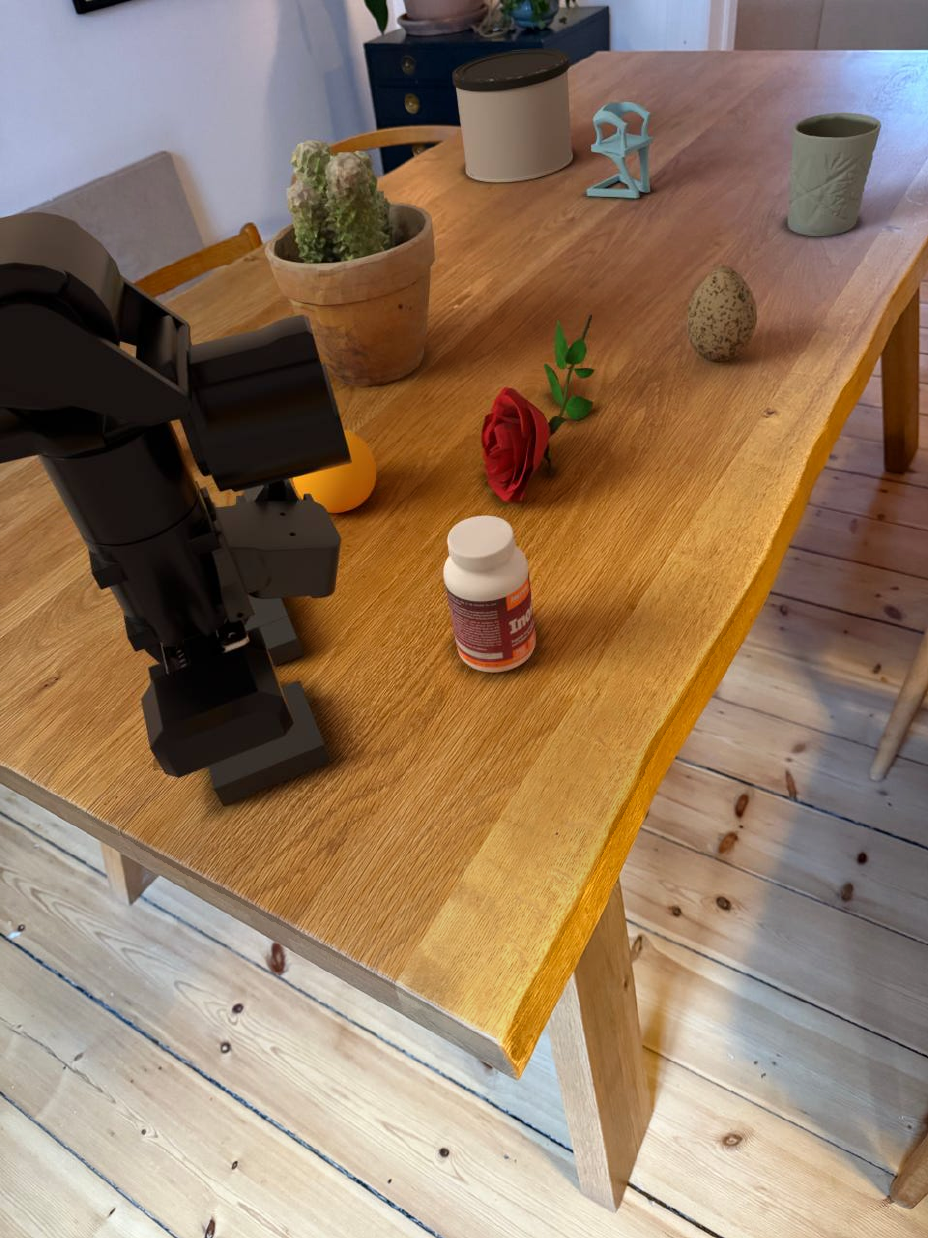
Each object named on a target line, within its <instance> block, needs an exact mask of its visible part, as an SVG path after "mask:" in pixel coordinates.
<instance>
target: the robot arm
mask: <svg viewBox="0 0 928 1238" xmlns="http://www.w3.org/2000/svg"><path fill="white" fill-rule="evenodd" d="M121 343H124V344H126V345H130V346H133V347H136V348H135V355H134V356H133V355H132V354H130V353H128V352H127V351H126V350H124V349H122V348H121ZM178 420H179V422H180V424H181V427H182V429H183V432H184V435H185V438H186V442H187V444H188V447H189V450H190V453H191V456H192V458H193V460H194V462H195V464H196V467H197V469H198V471H199V472H200V474H201V475H202V476H203V477H204V478H205V477H209V476H211V477H212V480H213V482H214V484H215V486H216V487H217V489H218V491H219V492H220V493H222V492H225V491H229V490H231V491H232V492H233V493H238V492H242V494H241V495H236V496H235V504H234V505H224V506H216V505H215V503H214V502H213V500H212V499H211V495H210V493H209V491H208V488H207V486H203V487H201V488H200V483H199V482H198V480H196V479H195V477H194V474H193V472H192V469H191V467H190V465H189V462H188V459H187V457H186V455H185V452H184V450H183V447H182V445H181V443H180V440H179V437H178V435H177V433H176V431H175V428H174V426H173V423H172V422H174V421H178ZM344 430H345V429H344V425H343V423H342V418H341V415H340V411H339V408H338V403H337V400H336V396H335V393H334V389H333V386H332V382H331V378H330V375H329V370H328V367H327V365H326V363H325V362H321V357H320V353H319V351H318V350H317V347H316V343H315V339H314V335H313V332H312V328H311V324H310V321H309V318H308V317H307V316H305V315H303V314H302V315H298V316H296V315H293V316H290V317H284V318H282V319H277V320H276V321H273V322H272V323H269V324H267V325H266V326H264V327H261V328H258V329H253V330H250V331H246V332H241V333H237V334H234V335H229V336H225V337H220V338H216V339H212V340H208V341H204V342H200V343H195V344H193V343H192V338H191V325H190V323H189V321H186V320H185V319H184V318H182V317H181V316H180V315H178V314H177V313H176V312H174V311H173V310H171V309H170V308H168V307H167V306H165V305H164V304H163V303H162V302H160V301H158V300H157V299H156V298H154V297H153V296H151V295H150V294H149V293H147V292H146V291H145V290H143V289H141V287H139V286H137V285H136V284H134V283H133V282H131V280H129V279H127V277H125V276H124V275H122V274H121V272H120V270H119V266H118V264H117V262H116V261H115V259H114V258H113V257H112V255H111V254H110V253H109V251H108V250H107V249H106V247H105V246H104V244H103V243H102V242H101V241H100V240H98V239H97V238H96V237H94V236H93V234H91V233H90V232H89V231H87V230H86V229H84V228H83V227H82V226H80V224H79V223H78V222H77V221H75V220H73V219H70V218H68V217H65V216H63V215H60V214H55V213H48V212H41V211H30V212H24V213H16V214H12V215H7V216H2V217H0V465H2V464H6V463H10V462H14V461H19V460H22V459H26V458H31V457H35V456H36V457H38V459H39V461H40V462H41V464H42V466H43V468H44V470H45V472H46V473H47V475H48V477H49V479H50V481H51V482H52V484H53V486H54V488H55V490H56V492H57V494H58V495H59V497H60V499H61V501H62V503H63V504H64V506H65V508H66V510H67V512H68V513H69V515H70V518H71V519H72V521H73V523H74V525H75V527H76V528H77V530H78V532H79V534H80V537H81V538H82V540H83V541H84V544H85V545H86V547H87V550H88V557H89V563H90V564H89V565H90V569H91V570H90V571H91V575H92V576H93V579H94V580H95V582H96V584H97V585H98V587H99V589H100V590H101V591H102V590H105V589H107V588H108V589H110V591H111V593H112V594H113V597H114V598H115V600H116V602H117V604H118V606H119V607H120V609H121V611H122V615H123V620H124V627H125V632H126V637H127V639H128V641H129V643H130V645H131V647H132V649H133V650H134V652H135V653H137V652H140V651H145V652H146V654H148V655H149V656H150V657H152V659H153V660H155V661H156V662H157V664H153V665H151V666H148V668H147V671H148V675H149V679H150V683H149V685H148V686H147V689H146V690H145V692H144V694H143V695H142V697H141V698H140V702H141V706H142V707H141V708H142V712H143V718H144V722H145V729H146V733H147V740H148V745H149V750H150V751H151V753H152V755H153V757H154V758H155V760H156V762H157V763H158V765H159V766H160V768H161V770H162V771H163V773H164V774H165V775H166V776H167V775H168V776H170V777H174V778H177V779H180V778H183V777H185V776H188V775H191V774H193V773H196V772H198V771H200V770H203V769H205V768H208V766H211V765H213V764H216V763H218V762H221V761H223V760H226V759H228V758H231V757H233V756H236V755H238V754H241V753H243V752H246V751H248V750H251V749H253V748H256V747H259V746H261V745H264V744H266V743H269V742H271V741H274V740H276V739H279V738H281V737H284V736H286V734H287V733H288V731H289V730H290V728H291V727H292V725H293V724H294V722H293V719H292V716H291V713H290V710H289V708H288V705H287V702H286V699H285V696H284V694H283V691H282V688H281V687H282V686H281V684H280V683H281V682H280V680H279V678H278V675H277V672H276V670H275V668H274V667H275V666H274V665H273V662H272V660H271V657H270V655H269V652H268V650H267V647H266V645H265V644H264V642H263V639H262V636H261V634H260V631H259V628H258V627H256V628H253V629H251V630H248V631H246V629H245V625H246V623H247V621H248V620H249V618H250V616H253V615H255V613H254V610H253V607H252V605H251V602H250V600H249V597H248V595H250V596H252V597H254V598H258V599H275V598H282V599H285V598H286V599H287V598H300V597H311V598H312V599H316V600H317V599H324V598H327V597H330V596H332V595H333V594H335V592H336V586H337V577H338V571H339V564H340V555H341V546H342V536H341V534H340V533H339V531H338V529H337V527H336V525H335V524H334V521H333V520H332V518H331V515H330V513H328V512H327V510H326V509H325V507H324V506H323V505H321V504H320V503H317V502H315V501H314V500H313V498H312V496H311V494H304V495H303V499H300V498H299V496H298V495H297V493H296V490H295V489H294V487H293V485H292V483H291V481H290V479H293V478H294V477H298V476H302V475H306V474H310V473H314V472H318V471H322V470H326V469H330V468H334V467H338V466H342V465H346V464H350V463H352V460H351V456H350V452H349V448H348V444H347V441H346V437H345V433H344ZM247 594H248V595H247Z"/></svg>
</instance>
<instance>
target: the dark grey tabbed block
mask: <svg viewBox="0 0 928 1238" xmlns="http://www.w3.org/2000/svg"><path fill="white" fill-rule="evenodd" d="M281 688H282V691H283V694H284V696H285V699H286V702H287V705H288V708H289V710H290V713H291V716H292V719H293V722H294V724H293V725H292V727H291V728H290V730H289V731H288V733H287V734H286V736H284V737H281V738H279V739H276V740H274V741H271V742H269V743H266V744H264V745H261V746H259V747H256V748H253V749H251V750H248V751H246V752H243V753H241V754H238V755H236V756H233V757H231V758H228V759H226V760H223V761H221V762H218V763H216V764H213V765H211V766H208V767H207V768H208V773H209V777H210V780H211V785H212V789H213V791H214V792H215V794H216V796H217V798H218V800H219V802H220V803H221V805H222V806H226V805H229V804H231V803H233V802H235V801H238V800H241V799H244V798H246V797H248V796H250V795H253V794H254V793H258V792H260V791H262V790H265V789H268V788H270V787H273V786H275V785H277V784H279V783H282V782H285V781H287V780H289V779H292V778H294V777H296V776H299V775H302V774H304V773H307V772H310V771H312V770H314V769H317V768H319V767H321V766H324V765H326V764H328V763H331V762H332V759H331V756H330V754H329V751H328V749H327V746H326V744H325V741H324V738H323V736H322V733H321V730H320V728H319V726H318V724H317V721H316V717H315V715H314V713H313V710H312V708H311V705H310V703H309V700H308V697H307V694H306V692H305V689H304V687H303V684H302V682H301V680H300V679H298V680H296V681H294V682H290V683H287V684H286V685H283V686H281Z"/></svg>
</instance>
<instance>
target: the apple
mask: <svg viewBox="0 0 928 1238" xmlns="http://www.w3.org/2000/svg"><path fill="white" fill-rule="evenodd" d="M344 433H345V437H346V441H347V444H348V448H349V452H350V456H351V460H352V463H350V464H346V465H342V466H338V467H334V468H330V469H326V470H322V471H318V472H314V473H310V474H306V475H302V476H298V477H294V478H292V481H293V485H294V487H295V491H296V492H297V494H298V496H299V497H300V498H301V500H303V495H304V494H311V496H312V498H313V500H314V501H315V502H317V503H320V504H321V505H323V506H324V507H325V509H326V510H327V512H328V514H338V513H345V512H347V511H350V510H354V509H356V508H357V507H359V506H361V505H362V504H363V503H364V502H365V501H366V500H368V498H369V497H370V496H371V494H372V492H373V491H374V489H375V486H376V483H377V462H376V460H375V459H376V458H375V456H374V454H373V452H372V449H371V448H370V447H369V445H368V443H366V441H365V440H364V439H362V438H361V437H360V436H359V435H357V434H355V433H354V432H352V431H350V430H348V429H344Z"/></svg>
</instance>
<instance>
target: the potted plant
mask: <svg viewBox="0 0 928 1238" xmlns="http://www.w3.org/2000/svg"><path fill="white" fill-rule="evenodd" d="M290 157H291V160H290V165H291V166H294V168H293V174H294V175H295V178H296V180H295V182H294V183H293V184H292V185H291V186H290V187H285V188H286V199H287V202H288V204H287V206H286V209H287V210H288V211H289V213H290V216H291V217H292V222H291V223H288V224H287V225H285V226H283V228H281V229H280V230H278V232H277V233H276V235H275V236H274V237H272V238H271V239H270V240H269V241H268V242H267V244H266V246H265V247H264V254H265V257H266V258H267V261H268V262H269V264H270V268H271V272H272V274H273V276H274V277H275V281H276V284H277V287H278V288H279V291H280V292H281V293H282V294H283V295H284V296H285V297H286V298H287V299H288V300H289V303H290V304H291V306H292V309H293V311H294V314H295V316H298V315H302V314H303V315H305V316H307V317H308V318H309V321H310V324H311V328H312V332H313V335H314V339H315V343H316V347H317V350H318V354H319V356H321V358H322V359H323V361H324V363H325V364H326V367H327V369H328V371H329V372H330V374H331V375H332V376H333V377H334V379H335V380H337V381H338V382H341V383H342V384H344V385H345V384H346V385H349V386H352V387H353V386H354V387H359V388H367V387H368V388H369V387H376V386H382V385H385V384H390V383H394V382H396V381H398V380H400V379H403V378H405V377H407V376H408V375H410V374H411V373H413V371H414V370H416V369H417V368H418V367H419V366H420V364H421V362H422V360H423V357H424V355H425V348H426V347H425V346H426V340H427V332H428V320H429V309H430V307H429V306H430V293H431V292H430V290H431V272H432V271H431V270H432V269H431V268H432V266H433V264H434V263H435V261H436V255H435V235H434V234H435V233H434V226H433V218H432V215H431V213H430V212H428V210H426V209H424V208H422V207H420V206H417V205H415V204H412V203H411V204H410V203H405V202H395V201H394V202H392V201H388V198H387V197H385V195H384V194H385V192H384V190H382V191H381V190H378V188H377V187H378V186H377V185H378V178H377V175H376V173H375V172H374V170H373V166H374V163H373V161H372V155H370V154H369V153H368V151H363V150H356V151H354V152H353V151H348V150H347V151H345V152H344V151H343V152H341V151H339V152H338V153H333V152H332V149H331V148H330V146H329V145H328V143H327V142H326V141H325V142H324V141H322V140H320V139H319V140H311V139H308V140H305V141H302V142H299V143H298V144H297V146H296V147H294V150H293V151H292V152H291V153H290Z"/></svg>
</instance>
